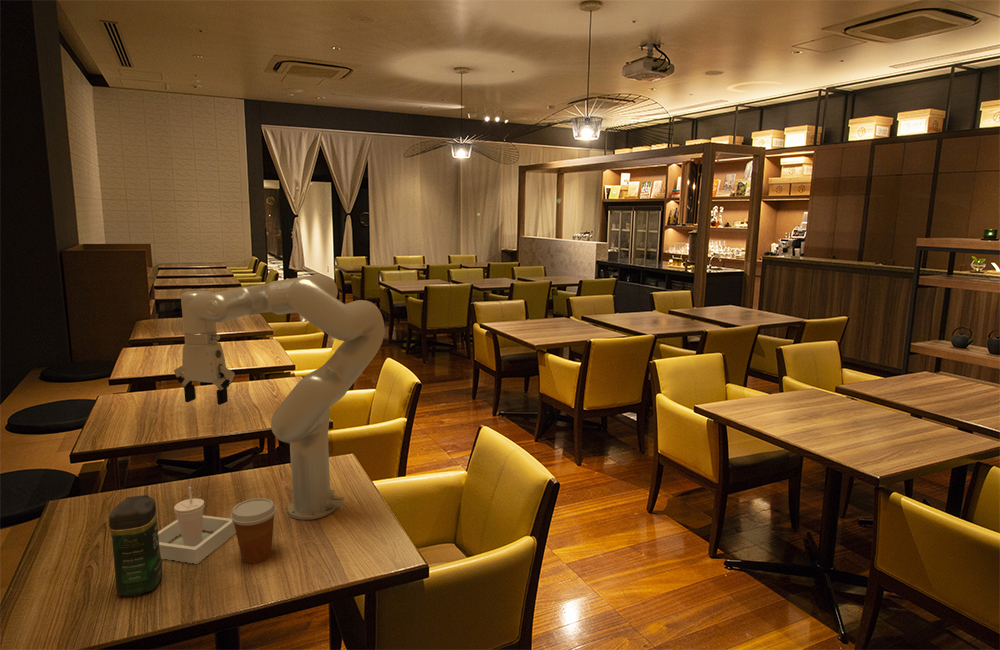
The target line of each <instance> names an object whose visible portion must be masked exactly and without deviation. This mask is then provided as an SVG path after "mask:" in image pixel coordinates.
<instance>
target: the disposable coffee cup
mask: <svg viewBox="0 0 1000 650" xmlns="http://www.w3.org/2000/svg"><path fill="white" fill-rule="evenodd" d="M231 511H232V512H231V513H230V519H232V521H233V522H234V526H235V530H236V534H235V535H236V539H237V543H238V548H239V552H240V556H241V560H242V561H243V562H244V563H247V564H255V563H260V562H263V561H265V560H267V559H269V558H270V557H271V555H272V550H273V536H274V533H273V532H274V524H275V523H274V520H275V515H276V511H277V507H276V505H275V504H274V501H273V500H271V499H268V498H263V497H262V498H261V497H260V498H250V499H247V500H244V501H241V502H238V503H237V504H236V505H234V507H233V508H232V510H231Z"/></svg>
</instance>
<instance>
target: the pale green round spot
mask: <svg viewBox="0 0 1000 650" xmlns="http://www.w3.org/2000/svg"><path fill="white" fill-rule="evenodd" d="M210 535H211V534H210V533H208V532H202V541H203V540H205V539H206V538H207V537H209V536H210ZM202 541H201V542H202ZM171 544H177V545H184V542H183V538H182V536H181V537H179V538H176V539H175V540H174V541H173V542H172V543H171ZM184 546H185V545H184ZM195 546H197V545H195ZM195 546H192V547H195Z"/></svg>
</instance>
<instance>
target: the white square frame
mask: <svg viewBox="0 0 1000 650" xmlns="http://www.w3.org/2000/svg"><path fill="white" fill-rule="evenodd" d="M203 530H205V532H211V531H213V532H212V533H211V534H210V536H209V537H207V538H206V539H205V540H203V541H202V542H201V543H199V544H198V545H197V546H195V547H192V546H184V545H177V544H172V543H170V542H171V541H172V539H173V540H174V539H176V538H177V537H178V536H180V535H182V534H181V530H180V526H179V522H178V519H175V520H174V521H172V522H171V523H169V524H168V525H166V526H165V527H163V528H161V529H160V530H158V537H159V547H160V555H161V560H164V559H168V560H167V561H171V560H175V561H174V562H178V561H180V563H185V562H187V563H186V564H192V563H194V564H193V565H198V564H199V563H201V562H202V561H203V560H204V559H205V558H207V557H208V556H209V555H211V553H213V552H214V551H215V550H217V549H218V548H219V547H220V546H222V545H224V543H226V542H227V541H228V540H229V539H231V538H232V537H233V536H234V535H236V530H235V526H234V522H233V521H232V519H231V518H229V517H221V516H220V517H219V516H212V515H211V516H210V515H204V514H203V523H202V531H203ZM179 534H180V535H179ZM176 536H177V537H176ZM175 537H176V538H175ZM206 556H207V557H206Z"/></svg>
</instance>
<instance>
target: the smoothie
mask: <svg viewBox="0 0 1000 650" xmlns="http://www.w3.org/2000/svg"><path fill="white" fill-rule="evenodd" d="M187 488H188V496H189V497H188V499H185V500H182V501H179V502H178V503H176V504H175V505H174V507H173V509H174V510H173V513H175V514H176V518H177V519H178V522H179V526H180V530H181V534H180V535H181V537H182V538H183V542H184V545H185V546H195V545H198V544H199V543H201V541H202V533H203V530H202V523H203V515H204V508H205V507H206V505H205V500H203V499H201V498H193V495H192V494H193V493H192V487H191V486H188V487H187ZM177 519H176V520H177Z"/></svg>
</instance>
